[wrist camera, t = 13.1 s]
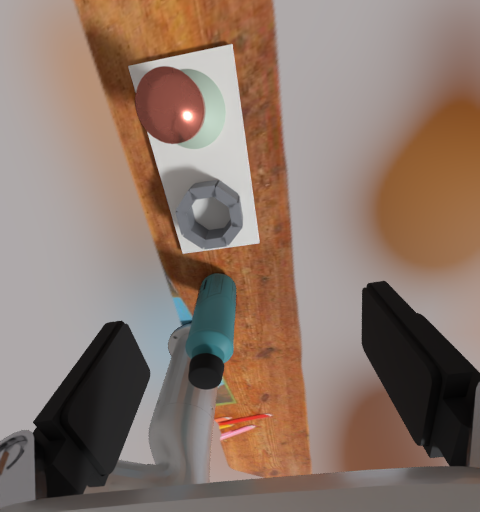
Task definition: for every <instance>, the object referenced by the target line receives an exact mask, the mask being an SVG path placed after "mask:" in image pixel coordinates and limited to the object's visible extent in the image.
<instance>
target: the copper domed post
mask: <svg viewBox="0 0 480 512" xmlns="http://www.w3.org/2000/svg"><path fill="white" fill-rule="evenodd" d="M135 104H136V110H137V114H138V117H139V119H140V122H141V123H142V125H143V127H144V128H145V129H146V131H147V132H148V133H149V134H150V135H151V136H153V137H154V138H156V139H157V140H159V141H161V142H164V143H168V144H178V143H182V142H186V141H189V140H190V139H192V138H194V137H195V136H196V135H197V134H198V133H199V131H200V130H201V128H202V126H203V123H204V120H205V114H206V108H205V101H204V98H203V95H202V93H201V91H200V89H199V87H198V86H197V84H196V83H195V82H194V81H193V80H192V79H191V78H190V77H189V76H188V75H186V74H185V73H184V72H182V71H180V70H179V69H176V68H174V67H169V66H161V67H157V68H154V69H152V70H150V71H149V72H147V73H146V74H145V75H144V76H143V78H142V79H141V80H140V82H139V84H138V87H137V90H136V96H135Z"/></svg>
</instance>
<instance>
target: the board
mask: <svg viewBox="0 0 480 512" xmlns="http://www.w3.org/2000/svg"><path fill="white" fill-rule="evenodd" d="M161 66H169V67H174V68H176V69H179V70H180V71H182V72H184V73H185V74H186V75H188V76H189V77H190V78H191V79H192V80H193V81H194V82H195V83H196V84H197V86H198V87H199V89H200V91H201V93H202V95H203V98H204V101H205V108H206V114H205V120H204V123H203V126H202V128H201V130H200V131H199V133H198V134H197V135H196V136H195V137H194V138H192V139H190V140H189V141H186V142H182V143H178V144H168V143H164V142H161V141H159V140H157V139H156V138H154V137H153V136H151V135H150V134H149V133H148V132H147V133H148V136H149V140H150V143H151V147H152V150H153V153H154V157H155V160H156V164H157V167H158V171H159V174H160V177H161V181H162V184H163V188H164V191H165V195H166V198H167V201H168V205H169V208H170V212H171V215H172V219H173V222H174V225H175V229H176V232H177V236H178V239H179V242H180V246H181V249H182V253H183V254H184V253H191V252H199V251H206V250H213V249H221V248H228V247H235V246H243V245H250V244H257V243H260V241H259V234H258V227H257V219H256V212H255V205H254V198H253V190H252V183H251V176H250V168H249V161H248V154H247V147H246V139H245V132H244V125H243V118H242V110H241V103H240V96H239V88H238V81H237V74H236V67H235V59H234V52H233V45H232V44H230V45H225V46H221V47H216V48H211V49H206V50H202V51H197V52H192V53H187V54H183V55H178V56H173V57H168V58H164V59H159V60H154V61H149V62H145V63H140V64H135V65H130V66H128V68H129V71H130V75H131V78H132V82H133V85H134V88H135V92H136V90H137V87H138V84H139V82H140V80H141V79H142V78H143V76H144V75H145V74H146V73H147V72H149V71H150V70H152V69H154V68H157V67H161Z"/></svg>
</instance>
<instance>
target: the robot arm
mask: <svg viewBox="0 0 480 512" xmlns="http://www.w3.org/2000/svg"><path fill="white" fill-rule="evenodd" d="M190 327H191V323H190V324H186V325H183V326H181V327H179V328H177V329H176V330H175V331H174V332H173V333H172V335H171V336H170V339H169V342H168V349H169V353H170V355H171V356H172V358H171V360H170V364H169V367H168V370H167V373H166V376H165V379H164V382H163V386H162V388H161V392H160V395H159V398H158V401H157V404H156V407H155V410H154V413H153V416H152V420H151V423H150V427H149V444H150V449H151V452H152V456H153V458H154V461H155V464H156V465H153V464H147V465H146V464H140V463H134V462H128V461H122V460H118V459H119V456H120V453H121V451H122V448H123V446H124V443H125V441H126V438H127V436H128V433H129V430H130V428H131V425H132V423H133V420H134V417H135V415H136V412H137V410H138V407H139V405H140V402H141V399H142V397H143V394H144V392H145V389H146V387H147V384H148V381H149V378H150V369H149V367H148V365H147V363H146V361H145V359H144V357H143V355H142V353H141V351H140V349H139V346H138V344H137V342H136V340H135V338H134V336H133V334H132V332H131V330H130V328H129V326H128V325H127V324H124V322H122V321H116V322H109V323H106V324H105V325H104V326H103V328H102V329H101V330H100V332H99V333H98V334H97V336H96V337H95V339H94V340H93V341H92V343H91V344H90V345H89V347H88V348H87V349H86V351H85V352H84V354H83V355H82V356H81V358H80V359H79V360H78V362H77V363H76V364H75V366H74V367H73V368H72V370H71V371H70V373H69V374H68V375H67V377H66V378H65V379H64V381H63V382H62V384H61V385H60V386H59V388H58V389H57V390H56V392H55V393H54V394H53V396H52V397H51V399H50V400H49V401H48V403H47V404H46V405H45V407H44V408H43V410H42V411H41V412H40V413H39V415H38V416H37V418H36V419H35V420H34V422H33V423H34V424H35V425H36V426H37V428H36V429H35V430H34V432H33V433H32V432H31V431H29V430H22V431H19V432H16V433H13V434H11V435H9V436H8V437H6V438H4V439H3V440H2V441H0V512H480V373H479V372H478V371H477V370H476V369H475V368H474V367H473V365H472V364H471V363H470V362H469V361H468V360H467V359H465V357H464V356H462V354H461V353H460V352H459V351H458V350H457V349H456V348H455V347H454V346H453V345H452V344H451V343H450V342H449V341H448V340H447V339H446V338H445V337H444V336H443V335H442V334H441V333H440V332H439V331H438V330H437V329H436V328H435V327H434V326H433V325H432V324H431V323H430V322H429V321H428V320H427V319H426V318H425V317H424V316H422V315H421V314H418V313H416V312H415V311H414V310H413V309H412V308H411V307H410V306H409V305H408V304H407V303H406V302H405V301H404V300H403V299H402V298H401V297H400V296H399V295H398V294H397V293H396V291H394V290H393V288H392V287H391V286H390V285H389V284H388V283H387V282H385V281H381V282H374V283H368V284H367V288H363V290H362V346H363V349H364V351H365V353H366V355H367V357H368V359H369V361H370V362H371V364H372V366H373V368H374V370H375V371H376V373H377V375H378V377H379V379H380V380H381V382H382V384H383V386H384V387H385V389H386V391H387V393H388V395H389V397H390V398H391V400H392V402H393V404H394V406H395V407H396V409H397V411H398V413H399V415H400V416H401V418H402V420H403V422H404V424H405V425H406V427H407V429H408V431H409V433H410V435H411V436H412V438H413V440H414V441H415V443H416V444H417V445H419V446H422V445H423V447H424V449H425V450H426V452H427V454H428V456H429V457H430V458H435V457H444V458H445V459H446V461H447V463H448V464H449V467H448V466H445V467H443V466H440V467H412V468H394V469H377V470H363V471H350V472H336V473H323V474H311V475H298V476H285V477H273V478H261V479H249V480H237V481H225V482H213V483H210V480H209V477H210V476H209V475H210V474H209V473H210V453H211V441H212V432H213V423H214V414H215V405H216V396H217V387H218V386H217V387H216V388H213V389H209V390H204V389H199V388H196V387H195V386H193V385H192V384H191V383H190V382H189V379H188V374H189V365H190V361H191V359H190V358H189V356H188V355H187V353H186V349H185V345H186V341H187V339H188V335H189V331H190Z"/></svg>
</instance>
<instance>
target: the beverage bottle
mask: <svg viewBox="0 0 480 512" xmlns="http://www.w3.org/2000/svg"><path fill="white" fill-rule="evenodd" d="M235 285H236V284H235V283H234V281H233V280H232V279H231V278H230V277H229V276H227V275H225V274H220V273H216V274H211V275H209V276H207V277H206V278H205V279H204V281H203V282H202V285H201V286H200V287H201V288H200V289H199V293H198V295H199V296H198V298H197V302H196V307H194V308H195V311H194V315H193V314H192V315H193V318H192V323H191V322H190V323H191V327H190V331H189V335H188V339H187V341H186V345H185V349H186V353H187V355H188V356H189V358H190V359H191V361H190V365H189V374H188V379H189V382H190V383H191V384H192V385H193V386H195V387H196V388H199V389H204V390H209V389H213V388H216V387H217V386H218V385H219V384H220V383H221V380H222V375H223V372H224V363H225V362H227V361H228V360H229V359H230V358H231V356H232V354H233V349H234V348H233V339H234V325H235V324H234V321H235V306H236V302H237V301H236V297H237V295H236V286H235Z"/></svg>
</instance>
